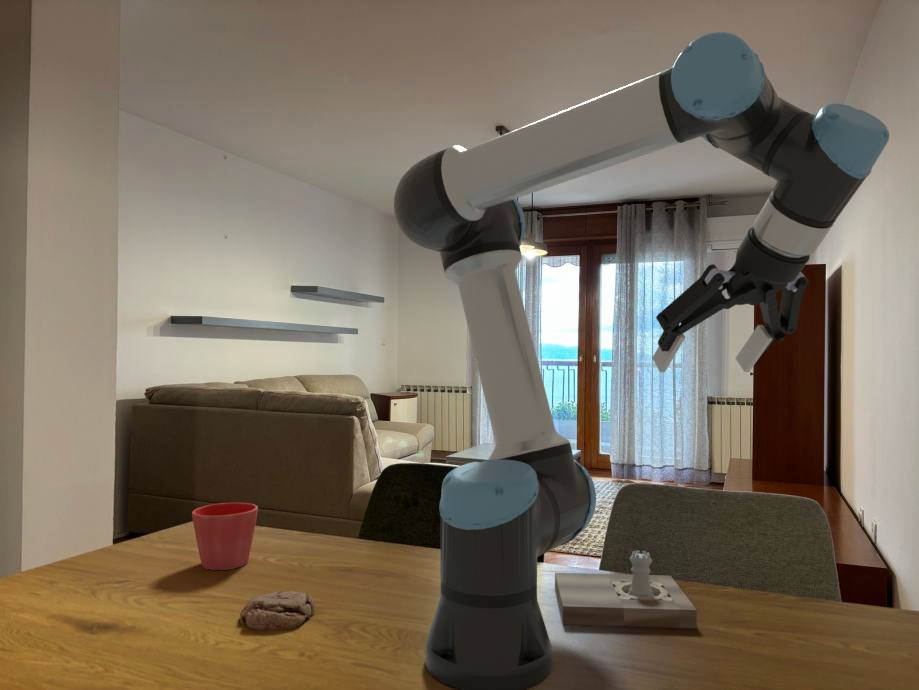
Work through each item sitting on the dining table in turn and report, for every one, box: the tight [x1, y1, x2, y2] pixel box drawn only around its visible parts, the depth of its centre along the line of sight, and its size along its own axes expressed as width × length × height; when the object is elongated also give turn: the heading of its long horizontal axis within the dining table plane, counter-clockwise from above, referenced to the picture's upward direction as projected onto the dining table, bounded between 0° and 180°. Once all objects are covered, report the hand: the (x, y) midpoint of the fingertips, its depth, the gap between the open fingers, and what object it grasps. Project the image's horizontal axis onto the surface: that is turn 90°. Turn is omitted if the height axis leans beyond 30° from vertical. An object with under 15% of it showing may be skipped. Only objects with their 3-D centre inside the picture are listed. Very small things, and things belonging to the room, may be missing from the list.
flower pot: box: [191, 502, 259, 571], centre depth 117 cm, size 11×11×10 cm
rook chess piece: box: [627, 550, 655, 597], centre depth 97 cm, size 4×4×8 cm
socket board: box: [554, 572, 698, 630], centre depth 98 cm, size 14×18×2 cm
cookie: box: [239, 590, 316, 632], centre depth 94 cm, size 10×11×3 cm
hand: (700, 365), depth 93 cm, fingers open, 13 cm apart
